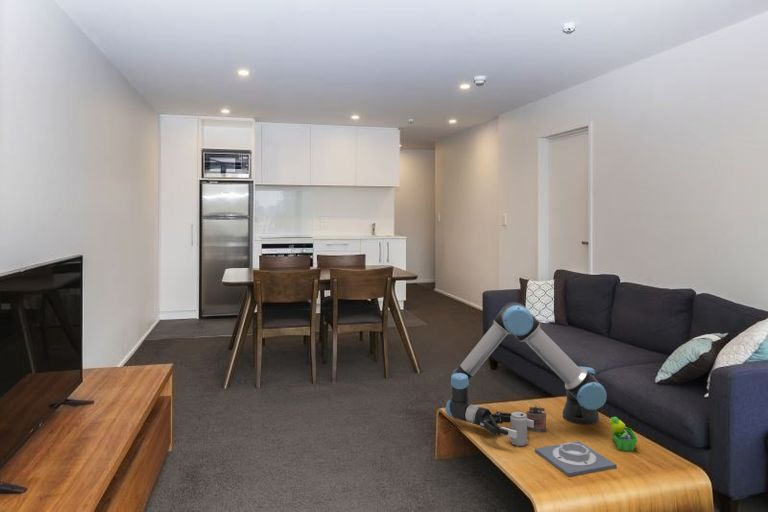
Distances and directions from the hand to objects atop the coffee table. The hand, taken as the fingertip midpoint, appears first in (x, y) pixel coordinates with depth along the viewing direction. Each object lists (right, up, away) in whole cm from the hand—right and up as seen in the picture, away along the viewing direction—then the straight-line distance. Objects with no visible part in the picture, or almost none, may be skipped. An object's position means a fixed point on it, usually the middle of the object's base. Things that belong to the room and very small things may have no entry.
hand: (525, 429), depth 190 cm
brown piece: (+9, -6, +15) cm, 18 cm away
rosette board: (+15, -7, -12) cm, 20 cm away
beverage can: (-2, -7, +2) cm, 7 cm away
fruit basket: (+38, -6, -1) cm, 38 cm away
